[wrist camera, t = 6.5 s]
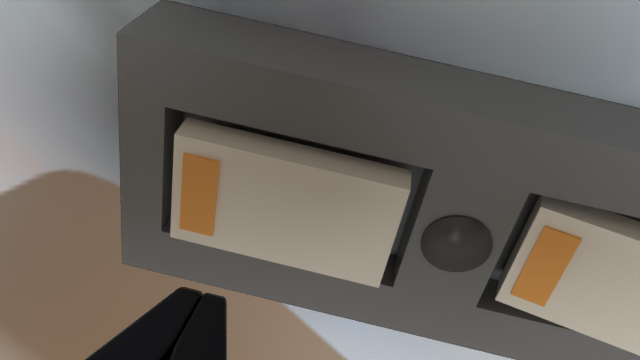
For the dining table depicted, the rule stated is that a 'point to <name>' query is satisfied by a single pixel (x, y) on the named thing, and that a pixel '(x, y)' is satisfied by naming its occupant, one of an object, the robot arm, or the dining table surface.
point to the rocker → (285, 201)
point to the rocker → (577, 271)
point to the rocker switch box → (379, 146)
